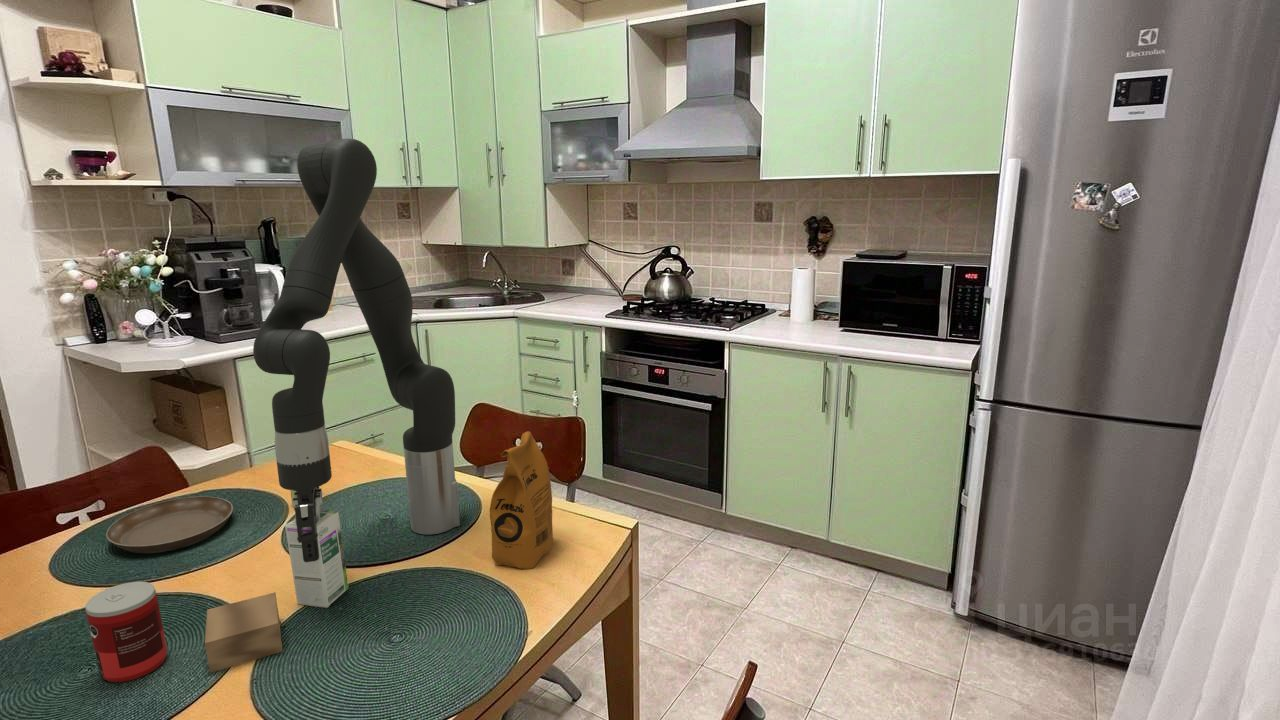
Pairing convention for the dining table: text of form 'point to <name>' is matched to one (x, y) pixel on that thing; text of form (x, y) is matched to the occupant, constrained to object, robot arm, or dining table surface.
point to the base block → (242, 632)
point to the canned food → (126, 631)
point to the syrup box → (319, 563)
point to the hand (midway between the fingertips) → (313, 548)
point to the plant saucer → (170, 524)
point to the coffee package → (522, 507)
